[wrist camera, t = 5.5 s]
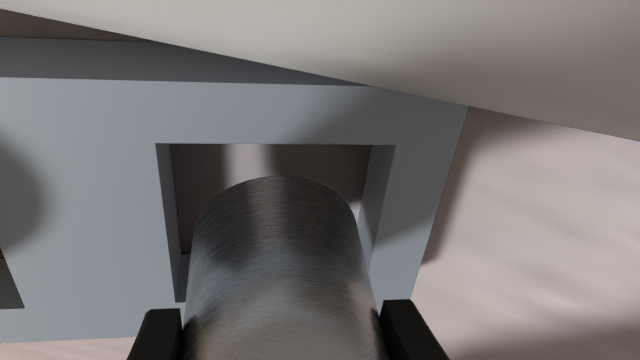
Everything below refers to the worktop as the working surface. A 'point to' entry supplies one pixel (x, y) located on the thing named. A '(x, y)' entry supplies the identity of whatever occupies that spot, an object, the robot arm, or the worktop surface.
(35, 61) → the jig
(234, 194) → the cylinder
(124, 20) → the tube
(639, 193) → the worktop surface
